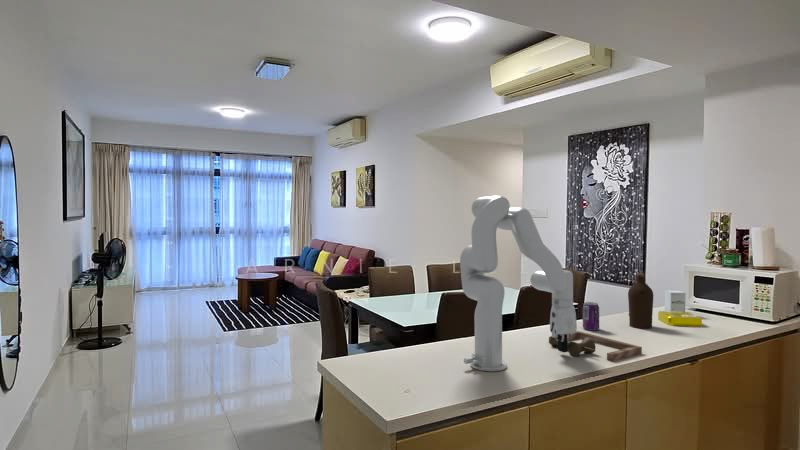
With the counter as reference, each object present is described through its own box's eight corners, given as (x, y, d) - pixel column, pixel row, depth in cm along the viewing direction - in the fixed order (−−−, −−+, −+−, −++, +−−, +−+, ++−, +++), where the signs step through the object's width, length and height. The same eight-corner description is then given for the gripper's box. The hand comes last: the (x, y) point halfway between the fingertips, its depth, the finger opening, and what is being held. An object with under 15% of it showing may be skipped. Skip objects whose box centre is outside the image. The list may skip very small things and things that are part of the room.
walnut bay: (611, 361, 164) (611, 354, 164) (548, 342, 189) (548, 336, 189) (641, 353, 173) (641, 346, 173) (577, 336, 198) (577, 330, 198)
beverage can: (600, 331, 207) (600, 305, 207) (584, 330, 208) (584, 304, 208) (597, 327, 214) (597, 302, 214) (581, 327, 215) (581, 301, 215)
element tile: (689, 320, 229) (689, 310, 228) (703, 327, 214) (703, 317, 214) (656, 319, 231) (656, 310, 231) (669, 326, 216) (669, 316, 216)
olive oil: (658, 328, 211) (658, 274, 211) (638, 329, 209) (638, 275, 209) (643, 323, 221) (642, 272, 221) (623, 324, 220) (623, 272, 219)
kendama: (562, 345, 188) (604, 356, 170) (545, 349, 183) (587, 361, 165) (561, 330, 188) (603, 340, 170) (544, 334, 183) (586, 345, 165)
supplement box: (670, 316, 236) (670, 292, 236) (664, 313, 243) (664, 290, 243) (685, 317, 235) (685, 292, 234) (679, 313, 242) (679, 290, 242)
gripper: (556, 306, 165) (557, 357, 165) (584, 302, 173) (584, 350, 173) (540, 303, 172) (541, 352, 172) (567, 299, 179) (568, 346, 179)
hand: (562, 351), depth 172 cm, fingers closed
